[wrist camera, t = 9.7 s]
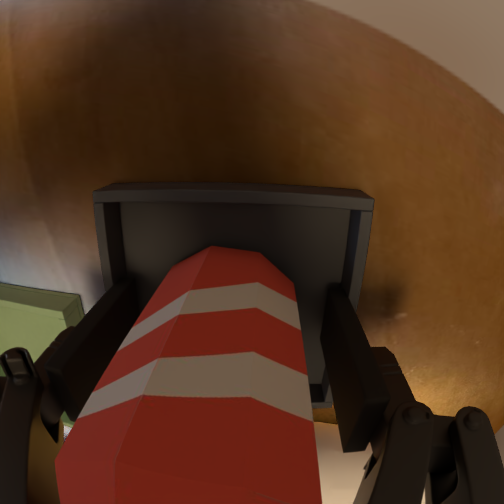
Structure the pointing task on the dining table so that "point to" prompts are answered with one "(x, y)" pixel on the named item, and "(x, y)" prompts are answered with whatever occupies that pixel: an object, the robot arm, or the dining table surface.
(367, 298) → the dining table surface
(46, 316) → the green tray
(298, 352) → the beverage can
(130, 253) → the charcoal tray
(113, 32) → the dining table surface
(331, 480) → the mug
